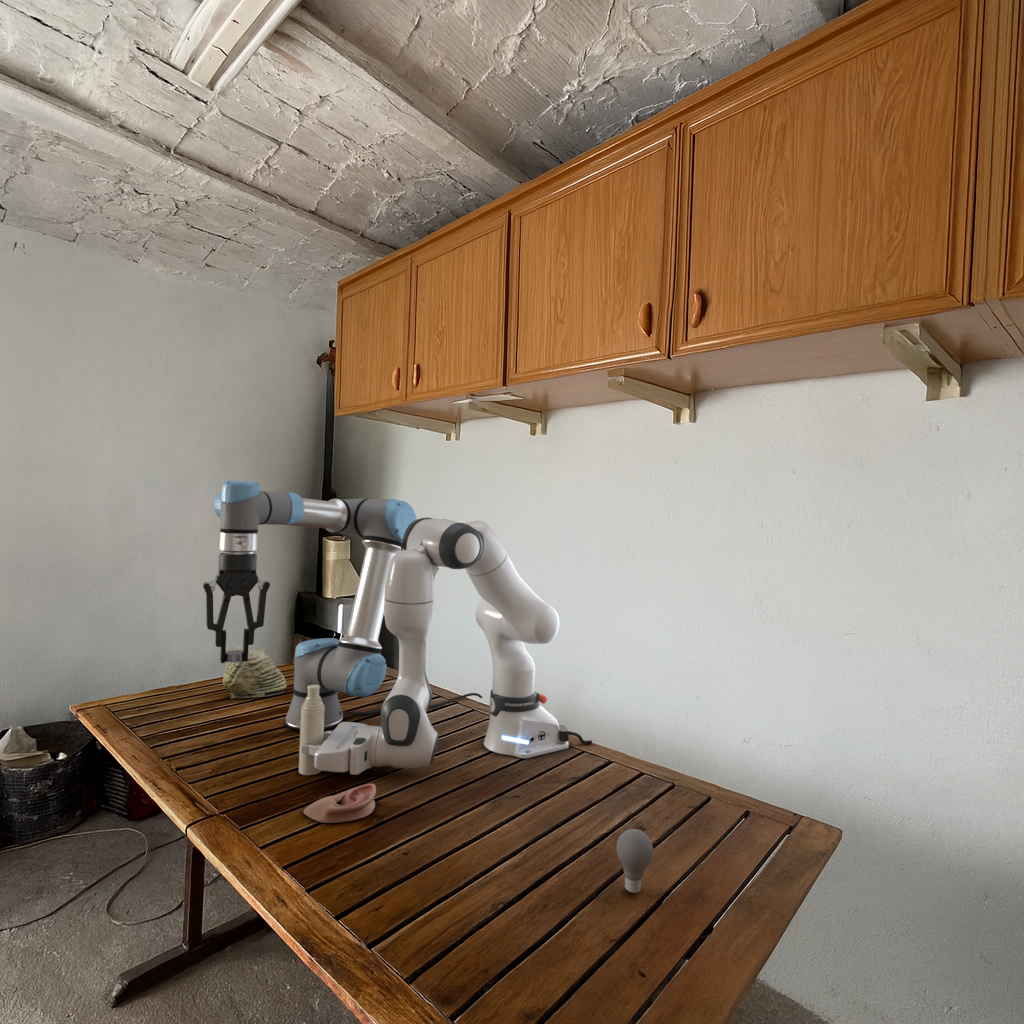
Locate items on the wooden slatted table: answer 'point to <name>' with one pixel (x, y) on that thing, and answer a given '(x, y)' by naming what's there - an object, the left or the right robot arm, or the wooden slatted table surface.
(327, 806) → the anatomical model
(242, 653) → the cap
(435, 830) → the wooden slatted table surface
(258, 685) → the fossil
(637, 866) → the light bulb
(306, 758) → the bottle
